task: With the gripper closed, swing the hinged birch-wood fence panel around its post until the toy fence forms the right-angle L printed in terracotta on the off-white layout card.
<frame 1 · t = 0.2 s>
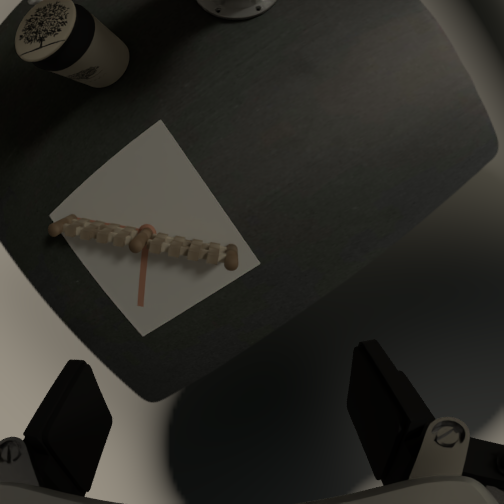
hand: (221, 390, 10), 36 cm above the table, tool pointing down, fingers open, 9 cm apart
layout card: (146, 237, 45), on the table
travel mug: (105, 63, 37), on the table
fence gate: (193, 249, 43), point 4 cm above the table, hinge at 0.0°
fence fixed: (147, 233, 45), resting on layout card
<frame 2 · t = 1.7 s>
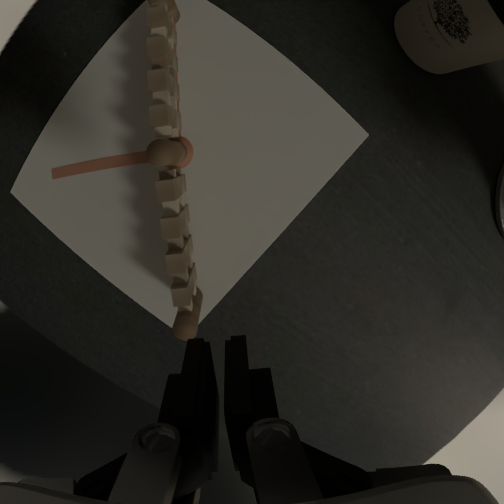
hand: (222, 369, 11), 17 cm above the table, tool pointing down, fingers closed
layout card: (168, 153, 25), on the table
travel mug: (425, 38, 23), on the table
fence gate: (179, 250, 24), point 4 cm above the table, hinge at 0.0°
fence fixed: (176, 152, 25), resting on layout card
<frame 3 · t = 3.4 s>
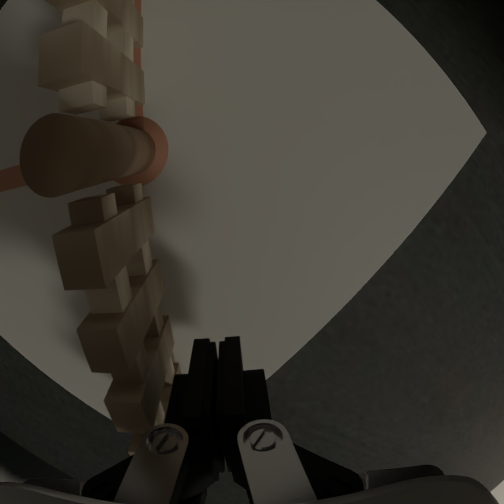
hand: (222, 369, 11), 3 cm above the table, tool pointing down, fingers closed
layout card: (118, 154, 12), on the table
fence gate: (142, 365, 11), point 4 cm above the table, hinge at -0.2°, touching gripper
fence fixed: (135, 151, 12), resting on layout card
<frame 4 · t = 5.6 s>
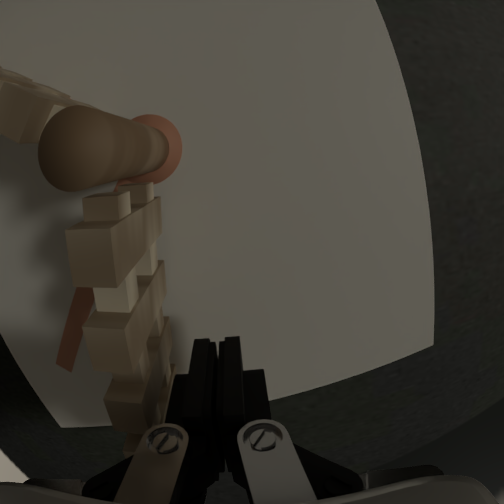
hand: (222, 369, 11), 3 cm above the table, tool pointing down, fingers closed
layout card: (140, 165, 12), on the table
fence gate: (141, 365, 10), point 4 cm above the table, hinge at -60.7°, touching gripper
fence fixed: (148, 149, 12), resting on layout card
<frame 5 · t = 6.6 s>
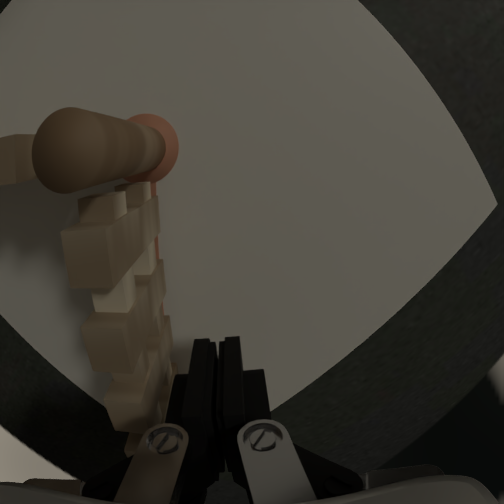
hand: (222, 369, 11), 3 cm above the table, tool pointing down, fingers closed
layout card: (144, 166, 12), on the table
fence gate: (141, 365, 10), point 4 cm above the table, hinge at -88.1°, touching gripper
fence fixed: (144, 149, 12), resting on layout card
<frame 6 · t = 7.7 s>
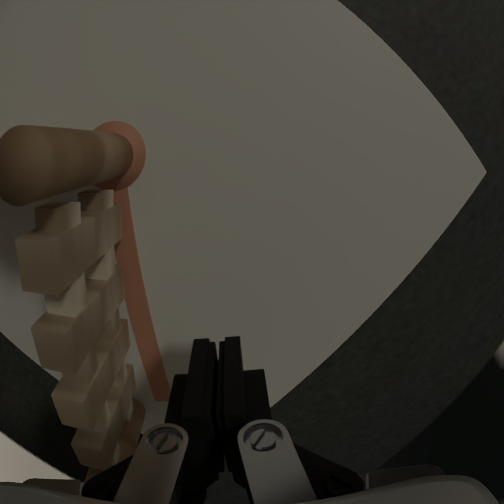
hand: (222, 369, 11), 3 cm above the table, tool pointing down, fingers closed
layout card: (116, 173, 12), on the table
fence gate: (93, 365, 10), point 4 cm above the table, hinge at -99.1°
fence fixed: (114, 155, 12), resting on layout card
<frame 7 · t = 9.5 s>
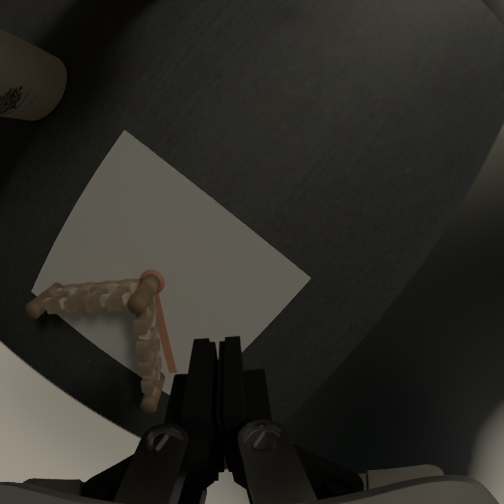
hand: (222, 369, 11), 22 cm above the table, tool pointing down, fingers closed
layout card: (153, 287, 34), on the table
travel mug: (41, 88, 27), on the table
fence gate: (149, 355, 32), point 4 cm above the table, hinge at -99.1°
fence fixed: (152, 281, 34), resting on layout card
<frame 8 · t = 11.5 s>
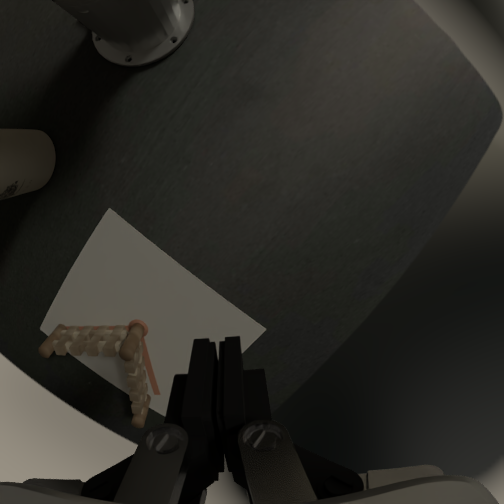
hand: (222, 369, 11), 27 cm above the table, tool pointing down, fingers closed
layout card: (139, 332, 41), on the table
travel mug: (34, 159, 33), on the table
fence gate: (137, 384, 40), point 4 cm above the table, hinge at -99.1°
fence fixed: (138, 327, 41), resting on layout card
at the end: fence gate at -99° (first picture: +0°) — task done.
